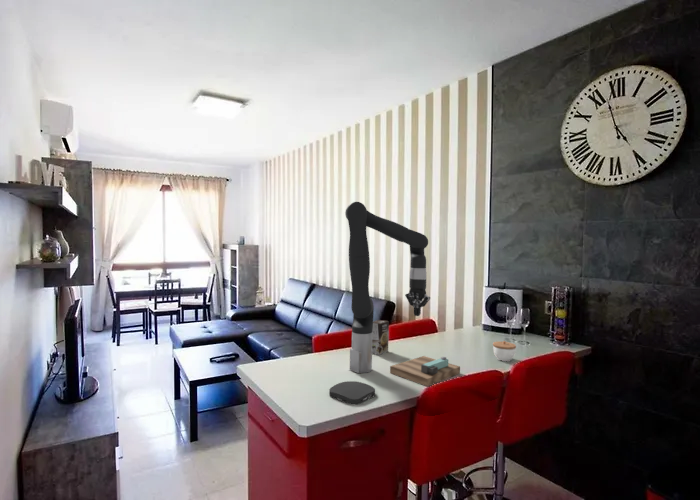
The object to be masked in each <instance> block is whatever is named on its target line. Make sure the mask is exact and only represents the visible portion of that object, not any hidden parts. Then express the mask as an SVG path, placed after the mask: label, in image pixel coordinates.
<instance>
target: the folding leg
mask: <svg viewBox="0 0 700 500" xmlns="http://www.w3.org/2000/svg"><path fill="white" fill-rule="evenodd" d="M448 363H449V358H447V357H446V356H441V357H440V358H437V359H436V360H434V361H431V362H428V363H425V364H422V365H421V372H423V373H426V374H428V368H429V367H432V366H435V367H438V370H439V369H441V368H444V367H447V366H448Z"/></svg>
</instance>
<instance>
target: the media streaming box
mask: <svg viewBox="0 0 700 500" xmlns="http://www.w3.org/2000/svg"><path fill="white" fill-rule="evenodd" d="M328 390H329V392H328V393H329V397H330V398H332V399H334V400H338V401H340V402H342V403H346V404H348V405H360V404H363V403H364V402H367V401H368V399H369V400H371V399H372V398H374V397H376V388H375V387H373V386H372V385H369V384H367V383H364V382H361V381H355V380H354V381H351V380H349V381H348V380H347V381H342V382H338V383H336V384H334V385H333V386H331V387H330V388H329V389H328ZM373 396H374V397H373ZM371 397H372V398H371Z"/></svg>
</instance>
